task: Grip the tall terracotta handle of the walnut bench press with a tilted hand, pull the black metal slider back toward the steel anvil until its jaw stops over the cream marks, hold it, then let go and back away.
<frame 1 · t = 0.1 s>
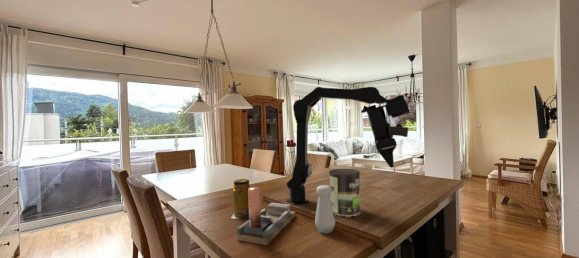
hand: (391, 164, 89), 15 cm above the kitchen island, tool pointing down, fingers open, 9 cm apart
coffee can: (345, 212, 88), on the kitchen island
salt shaker: (325, 231, 74), on the kitchen island
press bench: (269, 226, 78), on the kitchen island
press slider: (257, 208, 71), point 8 cm above the kitchen island, slide at 0.0 cm
condiment: (245, 215, 88), on the kitchen island
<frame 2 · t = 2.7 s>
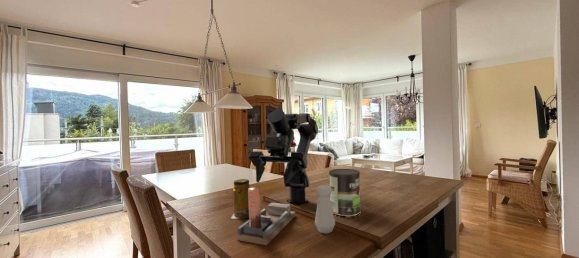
hand: (270, 182, 77), 14 cm above the kitchen island, tool tilted 45°, fingers open, 9 cm apart
nothing on the kitchen island moved.
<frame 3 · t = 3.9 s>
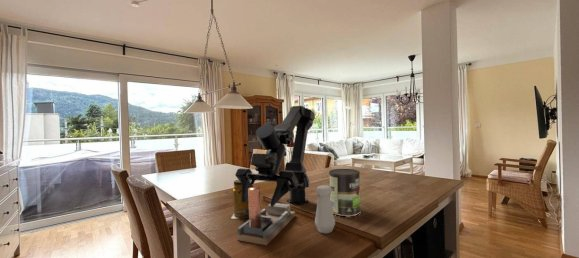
hand: (256, 204, 71), 9 cm above the kitchen island, tool tilted 45°, fingers open, 9 cm apart
nothing on the kitchen island moved.
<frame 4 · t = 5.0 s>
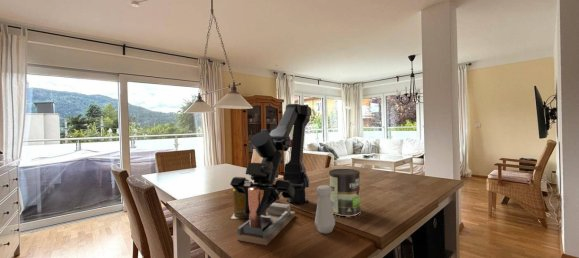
hand: (252, 215, 68), 7 cm above the kitchen island, tool tilted 45°, fingers closed on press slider, 3 cm apart
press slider: (257, 208, 71), point 8 cm above the kitchen island, slide at 0.0 cm, touching gripper
everything else where it was.
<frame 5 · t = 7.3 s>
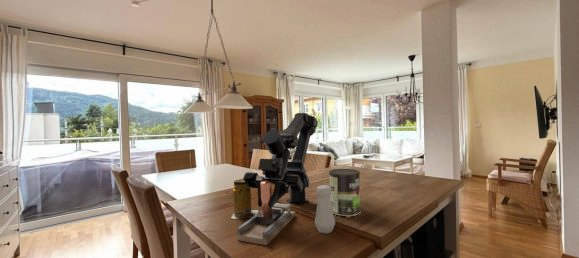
hand: (264, 206, 75), 7 cm above the kitchen island, tool tilted 45°, fingers closed on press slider, 3 cm apart
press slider: (268, 200, 77), point 8 cm above the kitchen island, slide at 6.9 cm, touching gripper
everything else where it was.
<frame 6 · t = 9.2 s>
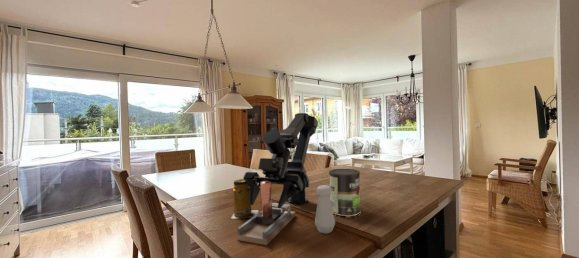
hand: (264, 206, 75), 7 cm above the kitchen island, tool tilted 45°, fingers open, 9 cm apart
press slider: (268, 200, 77), point 8 cm above the kitchen island, slide at 7.0 cm
everything else where it was.
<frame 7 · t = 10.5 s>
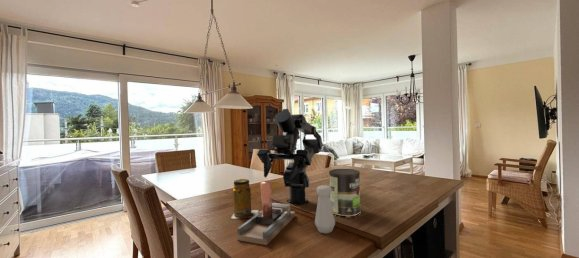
hand: (277, 177, 83), 13 cm above the kitchen island, tool tilted 45°, fingers open, 9 cm apart
nothing on the kitchen island moved.
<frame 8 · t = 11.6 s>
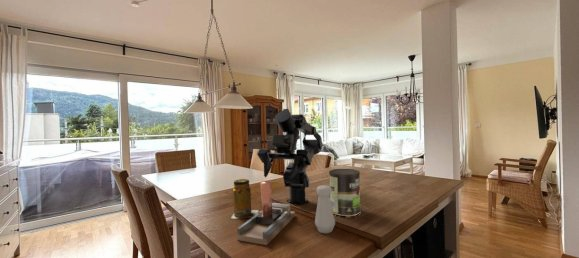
hand: (277, 177, 83), 14 cm above the kitchen island, tool tilted 45°, fingers open, 9 cm apart
nothing on the kitchen island moved.
at the end: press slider slide at 7.0 cm; the gripper is holding nothing; salt shaker moved 0.2 cm from its start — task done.
